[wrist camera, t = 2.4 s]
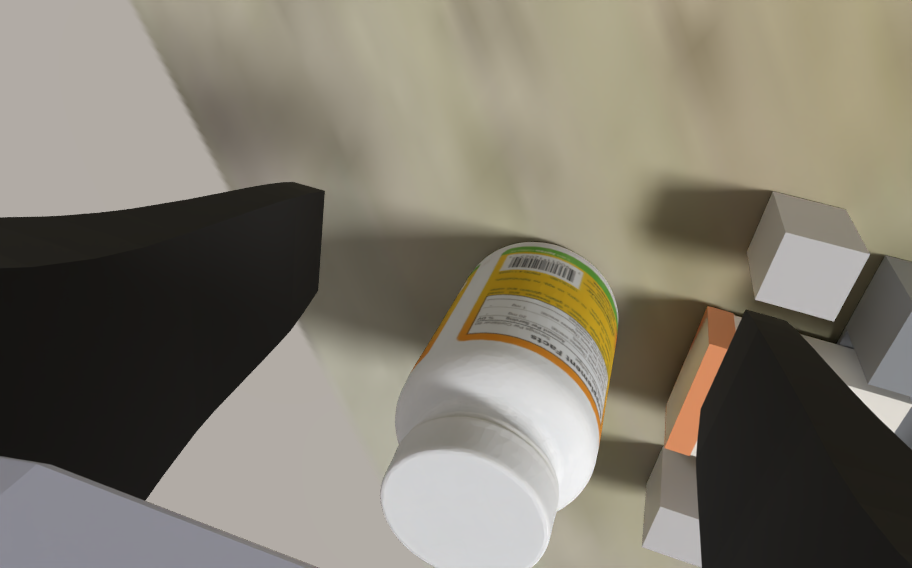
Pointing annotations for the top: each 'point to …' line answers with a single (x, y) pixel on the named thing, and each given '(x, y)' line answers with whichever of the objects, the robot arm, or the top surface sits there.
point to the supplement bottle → (503, 411)
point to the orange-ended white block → (709, 357)
